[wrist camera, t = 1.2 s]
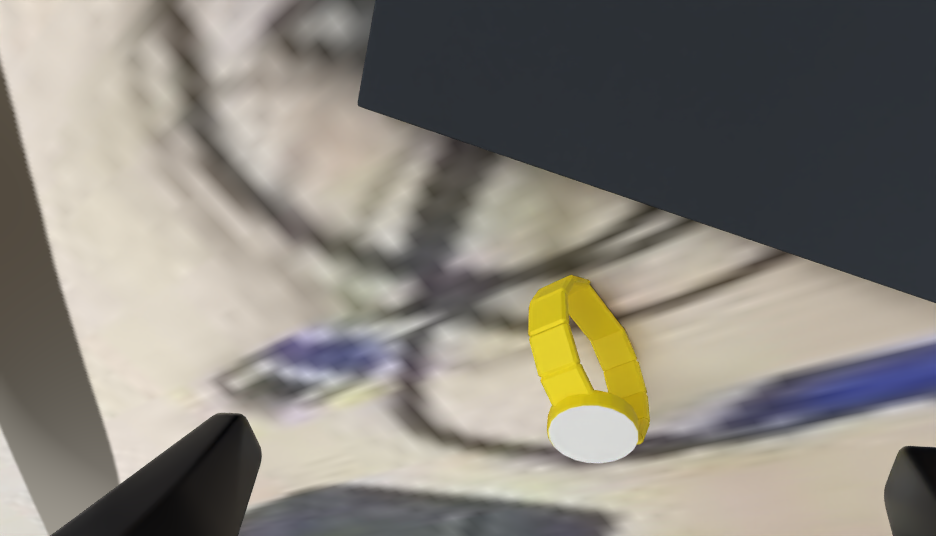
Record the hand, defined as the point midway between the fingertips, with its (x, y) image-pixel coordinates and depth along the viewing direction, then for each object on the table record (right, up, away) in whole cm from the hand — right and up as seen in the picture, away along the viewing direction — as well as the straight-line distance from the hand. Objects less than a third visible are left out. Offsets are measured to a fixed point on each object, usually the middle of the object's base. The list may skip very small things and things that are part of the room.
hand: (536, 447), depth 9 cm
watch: (+4, +1, +15) cm, 16 cm away
